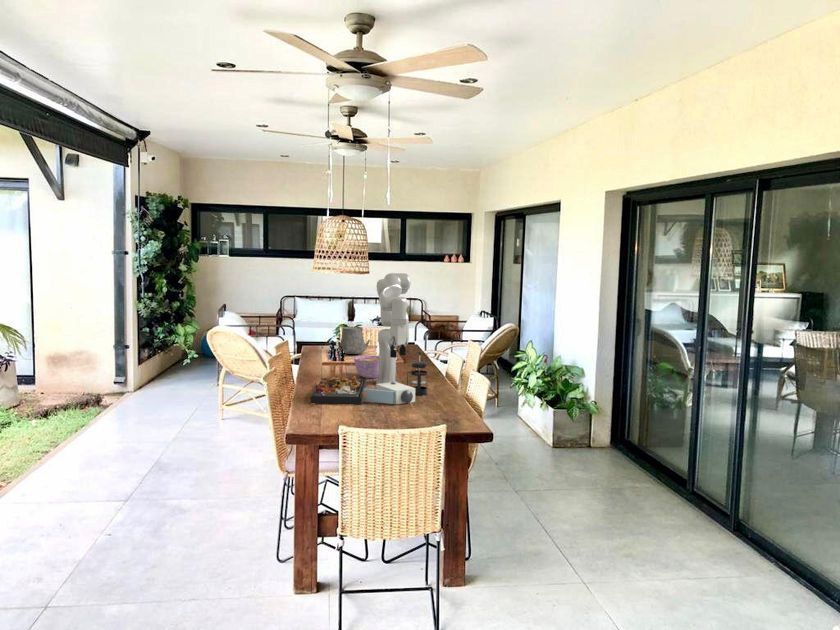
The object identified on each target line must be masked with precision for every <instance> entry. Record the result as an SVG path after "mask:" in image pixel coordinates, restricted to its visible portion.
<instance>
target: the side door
mask: <svg viewBox="0 0 840 630" xmlns="http://www.w3.org/2000/svg"><path fill="white" fill-rule="evenodd" d="M396 394H397V392H396V391H395V392H393V391H383V390H376V389H373V388H372V389H370V388H365V389H363V399H362V402H363V401H364V402H371V403H381V404H389V405H395V404H396ZM396 405H397V404H396Z"/></svg>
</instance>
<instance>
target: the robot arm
mask: <svg viewBox="0 0 840 630" xmlns="http://www.w3.org/2000/svg"><path fill="white" fill-rule="evenodd" d="M411 284H412V283H411V276H410V275H409V274H407V273H399V272H396V273H395V272H391V273H387V274H386V275H385V276H384V278H382V279H379V280H377V282H376V292H377V296H378V298H379V305H380V324H381V325H382V326H383V327H390V328H384V329H383V328H382V329H381V330H379V331H378V333H377V339H378V340H377V341H378V351H379V352H378V356H379V375H378V376H377V378H376V379H378V380H376V381H375V385H376V384H382V383H390V382H397V383H399V381H398V380H396V368H397V367H396V364H397V362H396V361H397V359H396V358H397V347H399V355H400V356H406V353H407V352H406V351H407V345H408V344H409V341H410V337H409V336H410V335H409V334H410V332H409V331H410V329H409V327H410V324H409V320H410V319H409V313H408V312H407V309H408V307H409V301H408V299H407V297H405V296H401V295H405V294H407V293H408V291H409V290H410V287H411Z"/></svg>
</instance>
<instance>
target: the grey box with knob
mask: <svg viewBox="0 0 840 630" xmlns="http://www.w3.org/2000/svg"><path fill="white" fill-rule="evenodd" d="M397 382H398V381H397ZM397 382H390V383H382V384H376V383H375V386H376V387H375V390H383V391H393V392H395V391H396V392H397V394H396V404H394V405H395V406H396V405H402V404H410V403H415V402H416V396H415V388H413V386H411V385H408V386H407V384H403V383H400V382H398V383H397Z"/></svg>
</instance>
